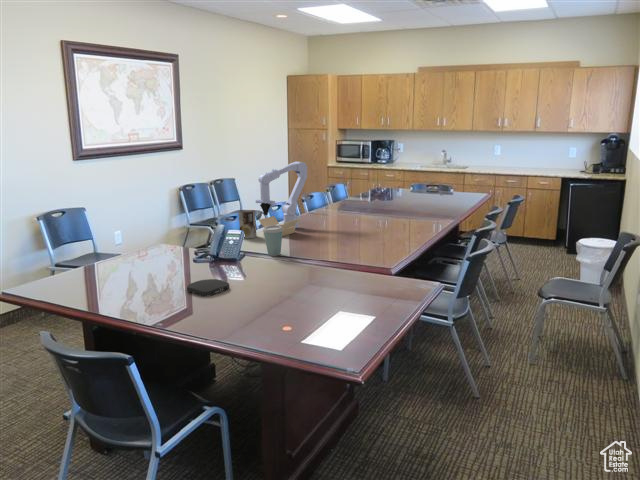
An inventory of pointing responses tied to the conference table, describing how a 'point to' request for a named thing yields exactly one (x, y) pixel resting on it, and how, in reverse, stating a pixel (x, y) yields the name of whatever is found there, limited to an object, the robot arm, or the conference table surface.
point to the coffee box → (248, 223)
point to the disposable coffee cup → (273, 239)
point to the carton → (288, 231)
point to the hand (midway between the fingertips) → (265, 215)
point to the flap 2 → (290, 224)
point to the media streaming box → (208, 287)
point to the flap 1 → (268, 221)
